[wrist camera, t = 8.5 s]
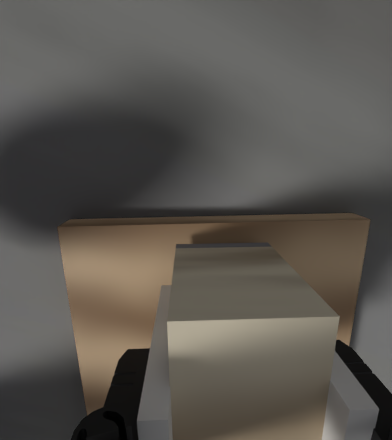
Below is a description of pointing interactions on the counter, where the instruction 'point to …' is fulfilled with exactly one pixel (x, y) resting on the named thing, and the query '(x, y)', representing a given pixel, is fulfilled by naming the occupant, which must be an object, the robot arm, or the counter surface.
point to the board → (163, 270)
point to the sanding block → (246, 346)
